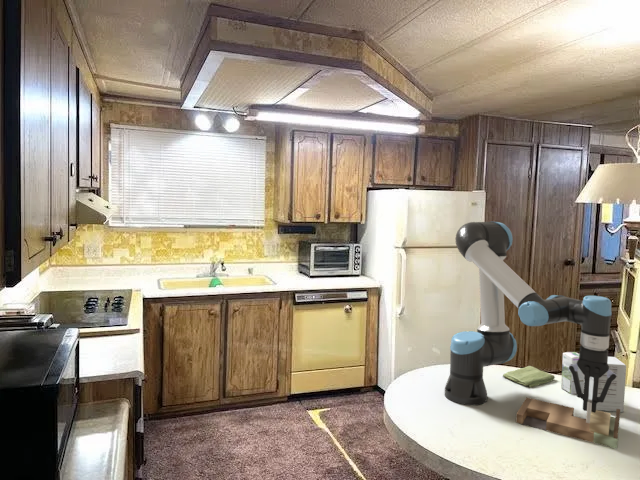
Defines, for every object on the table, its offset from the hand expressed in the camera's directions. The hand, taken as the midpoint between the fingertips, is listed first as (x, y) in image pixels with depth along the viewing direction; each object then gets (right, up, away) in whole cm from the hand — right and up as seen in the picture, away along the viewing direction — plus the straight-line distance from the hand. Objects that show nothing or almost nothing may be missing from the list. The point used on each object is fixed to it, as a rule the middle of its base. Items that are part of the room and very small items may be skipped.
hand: (588, 421), depth 145 cm
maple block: (+2, -2, -2) cm, 3 cm away
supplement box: (+18, -3, +22) cm, 29 cm away
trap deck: (-3, -4, +7) cm, 9 cm away
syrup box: (+14, -2, +35) cm, 37 cm away
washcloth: (+2, -1, +46) cm, 46 cm away
